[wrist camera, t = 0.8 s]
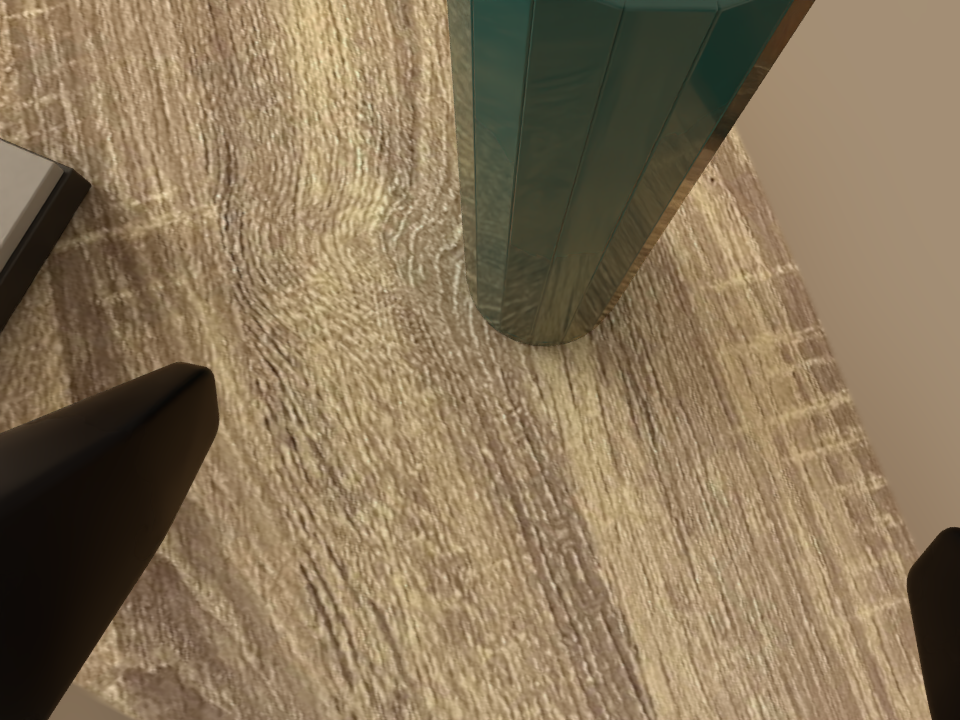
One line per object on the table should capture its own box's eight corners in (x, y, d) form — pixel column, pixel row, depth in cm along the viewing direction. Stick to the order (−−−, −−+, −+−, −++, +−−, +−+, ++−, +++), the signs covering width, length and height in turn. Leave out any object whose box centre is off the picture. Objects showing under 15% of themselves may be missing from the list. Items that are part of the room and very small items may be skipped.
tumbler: (587, 370, 23) (810, 75, 7) (442, 310, 23) (363, -86, 8) (642, 235, 24) (936, -271, 8) (502, 180, 25) (538, -391, 9)
